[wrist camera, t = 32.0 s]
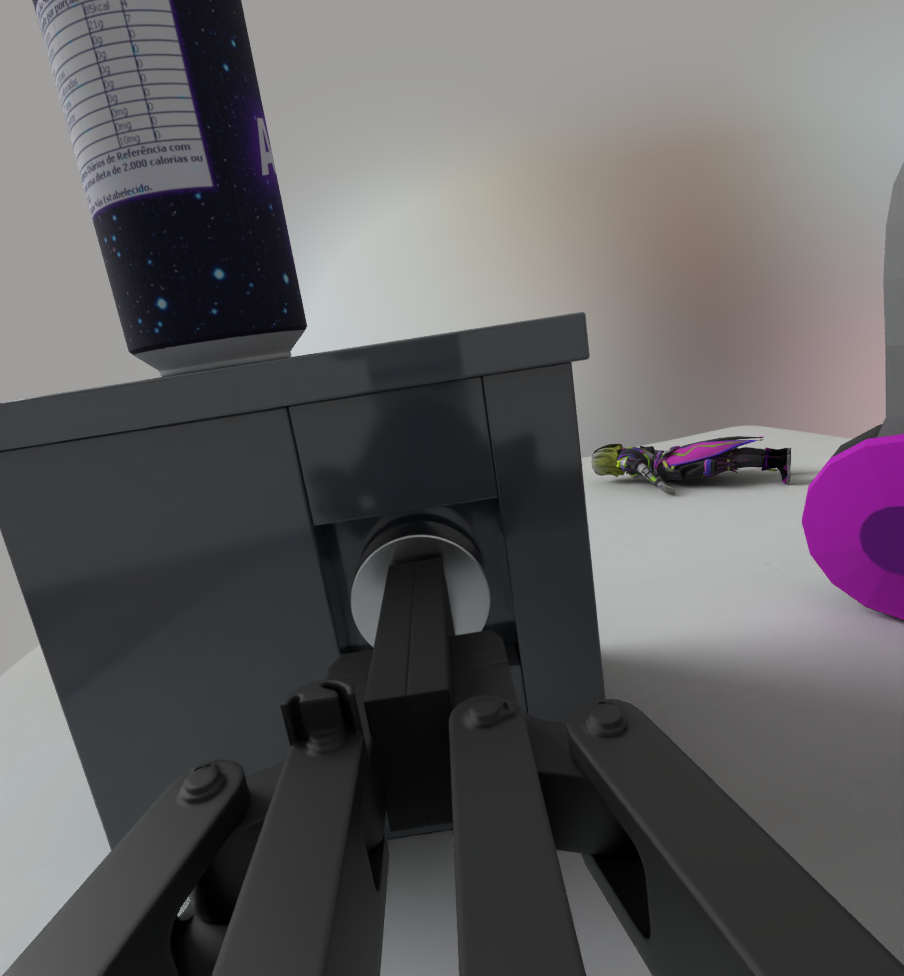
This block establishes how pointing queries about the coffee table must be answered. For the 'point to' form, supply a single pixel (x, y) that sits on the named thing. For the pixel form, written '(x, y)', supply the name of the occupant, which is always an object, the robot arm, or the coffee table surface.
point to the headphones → (869, 469)
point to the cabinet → (288, 536)
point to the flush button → (416, 545)
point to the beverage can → (178, 177)
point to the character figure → (689, 460)
